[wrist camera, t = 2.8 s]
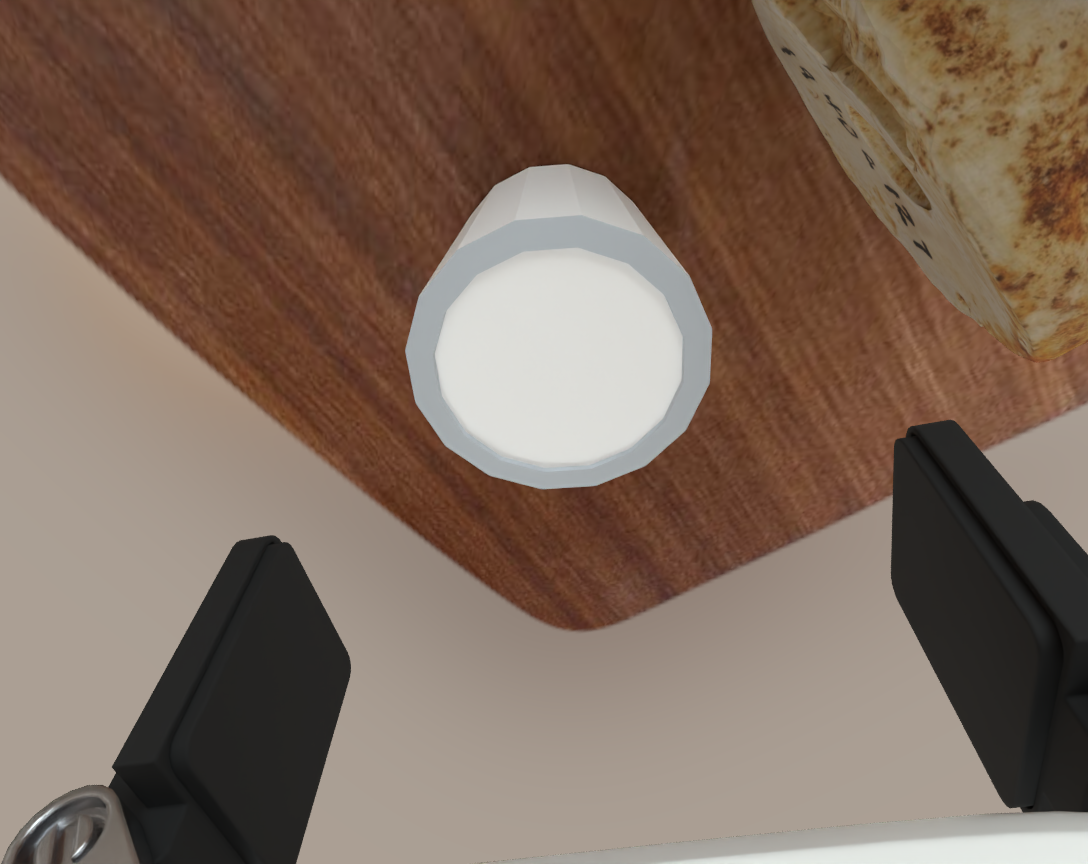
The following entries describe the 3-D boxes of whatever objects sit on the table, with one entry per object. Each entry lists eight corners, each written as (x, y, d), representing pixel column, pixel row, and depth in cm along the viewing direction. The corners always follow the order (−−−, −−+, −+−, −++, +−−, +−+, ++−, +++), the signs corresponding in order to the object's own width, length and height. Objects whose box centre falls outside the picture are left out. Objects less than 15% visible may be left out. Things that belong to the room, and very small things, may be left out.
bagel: (1004, 193, 22) (1296, 349, 13) (883, 271, 23) (1080, 458, 15) (837, -169, 17) (1116, -278, 9) (698, -48, 19) (827, -44, 10)
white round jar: (482, 384, 25) (463, 518, 19) (406, 179, 21) (354, 267, 16) (688, 332, 24) (735, 457, 18) (644, 108, 20) (685, 174, 15)
